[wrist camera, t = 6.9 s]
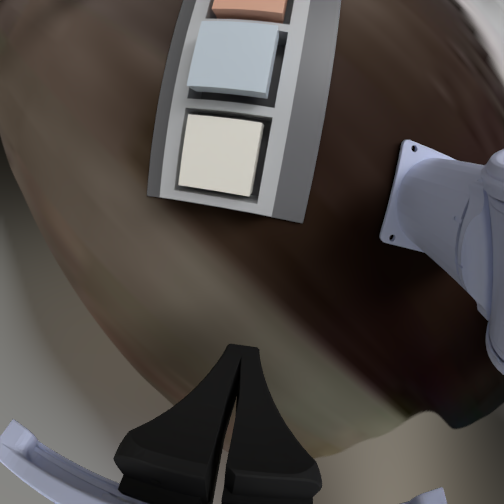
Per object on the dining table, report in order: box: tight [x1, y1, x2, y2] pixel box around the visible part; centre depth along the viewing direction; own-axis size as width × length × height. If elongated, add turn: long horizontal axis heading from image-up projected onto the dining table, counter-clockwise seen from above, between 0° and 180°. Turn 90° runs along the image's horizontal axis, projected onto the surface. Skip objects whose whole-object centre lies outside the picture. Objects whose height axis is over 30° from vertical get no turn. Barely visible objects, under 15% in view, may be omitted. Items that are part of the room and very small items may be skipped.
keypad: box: [147, 0, 341, 223], centre depth 14 cm, size 12×26×3 cm, turn 171°
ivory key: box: [178, 114, 264, 196], centre depth 17 cm, size 4×4×3 cm
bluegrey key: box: [187, 21, 279, 99], centre depth 13 cm, size 4×4×3 cm
